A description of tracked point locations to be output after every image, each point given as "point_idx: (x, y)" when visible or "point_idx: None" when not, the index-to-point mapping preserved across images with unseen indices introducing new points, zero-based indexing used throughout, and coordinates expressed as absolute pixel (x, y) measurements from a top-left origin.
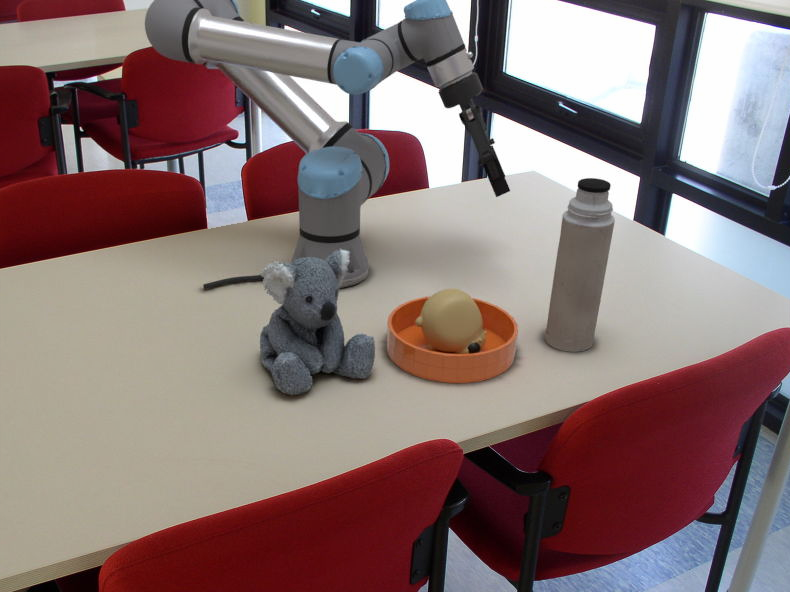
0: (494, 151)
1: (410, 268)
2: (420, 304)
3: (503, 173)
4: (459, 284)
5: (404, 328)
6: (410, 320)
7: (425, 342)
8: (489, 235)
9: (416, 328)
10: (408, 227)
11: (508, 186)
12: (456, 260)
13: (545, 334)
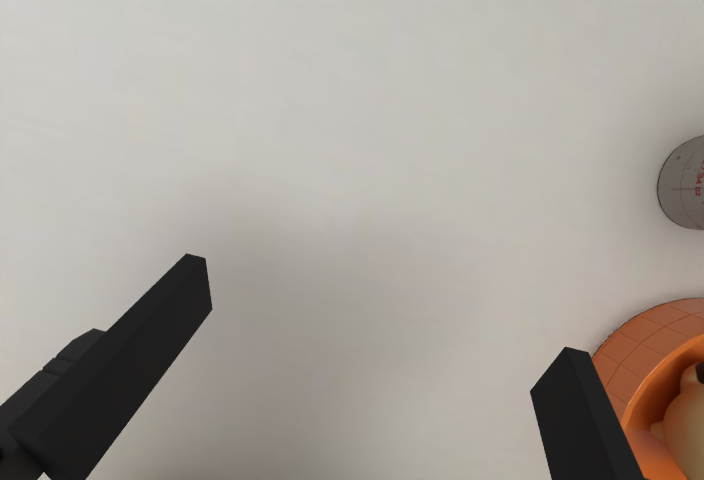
0: (82, 392)
1: (332, 417)
2: None
3: (194, 273)
4: (422, 335)
5: None
6: None
7: (656, 444)
8: (148, 203)
9: None
10: None
11: (597, 375)
12: (297, 315)
13: (693, 228)
